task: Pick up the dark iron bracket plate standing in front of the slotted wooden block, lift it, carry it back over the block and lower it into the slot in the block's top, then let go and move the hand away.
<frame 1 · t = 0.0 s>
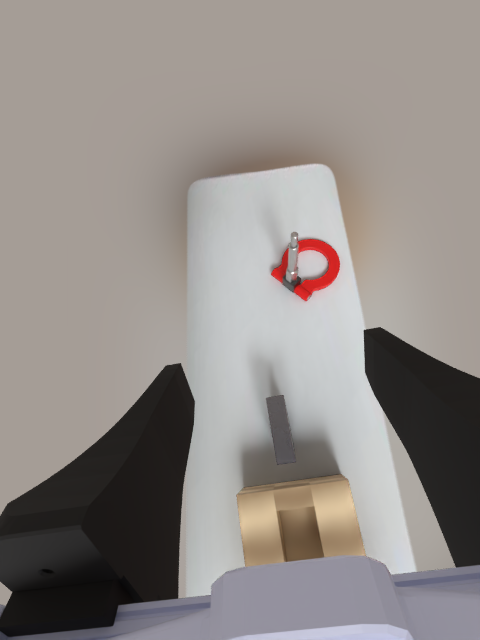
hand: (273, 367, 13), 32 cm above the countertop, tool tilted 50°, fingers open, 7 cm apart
slotted wooden block: (300, 532, 39), on the countertop
bracket: (282, 429, 43), on the countertop
tow hook: (307, 268, 50), on the countertop
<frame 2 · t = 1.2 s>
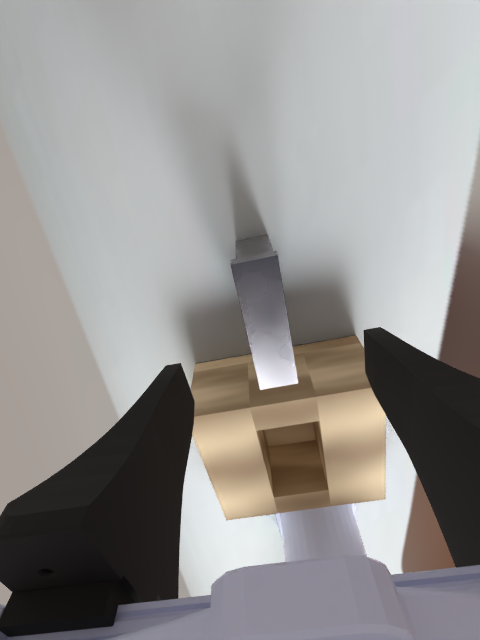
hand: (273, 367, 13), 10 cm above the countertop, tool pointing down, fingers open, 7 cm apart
slotted wooden block: (284, 404, 27), on the countertop
bracket: (259, 275, 22), on the countertop
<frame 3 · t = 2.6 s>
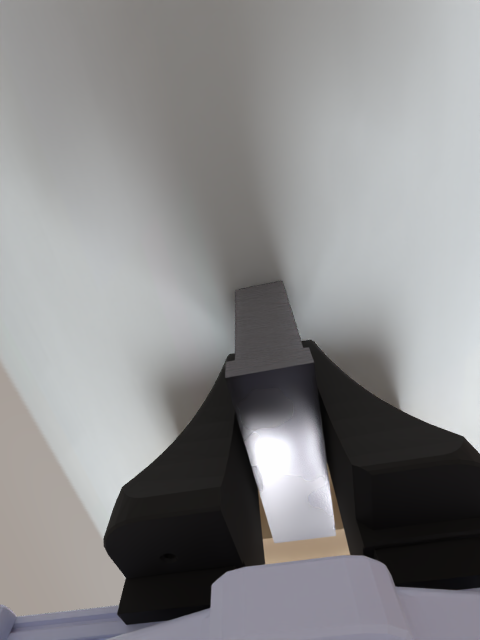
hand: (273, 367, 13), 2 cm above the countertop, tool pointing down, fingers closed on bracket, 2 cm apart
slotted wooden block: (299, 489, 21), on the countertop
bracket: (268, 334, 15), on the countertop, touching gripper
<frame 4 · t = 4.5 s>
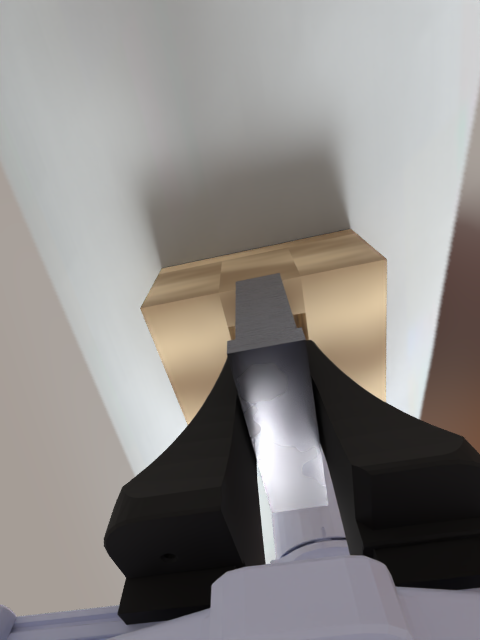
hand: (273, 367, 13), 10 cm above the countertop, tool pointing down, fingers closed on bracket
slotted wooden block: (268, 323, 23), on the countertop
bracket: (266, 324, 16), point 6 cm above the countertop, touching gripper
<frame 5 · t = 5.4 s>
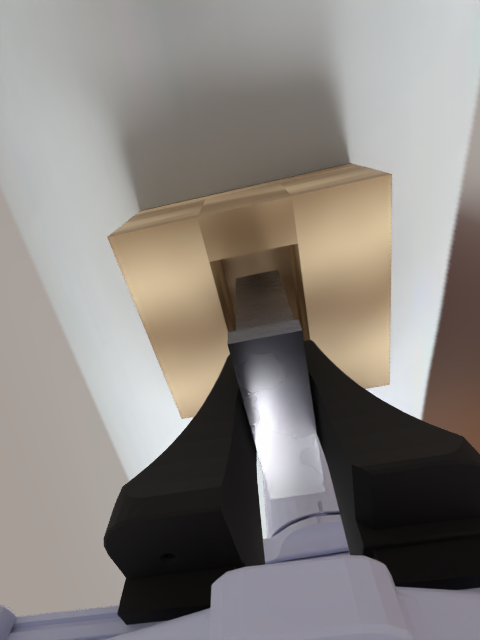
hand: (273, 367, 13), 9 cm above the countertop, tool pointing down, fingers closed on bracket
slotted wooden block: (259, 278, 21), on the countertop
bracket: (266, 319, 17), point 5 cm above the countertop, touching gripper
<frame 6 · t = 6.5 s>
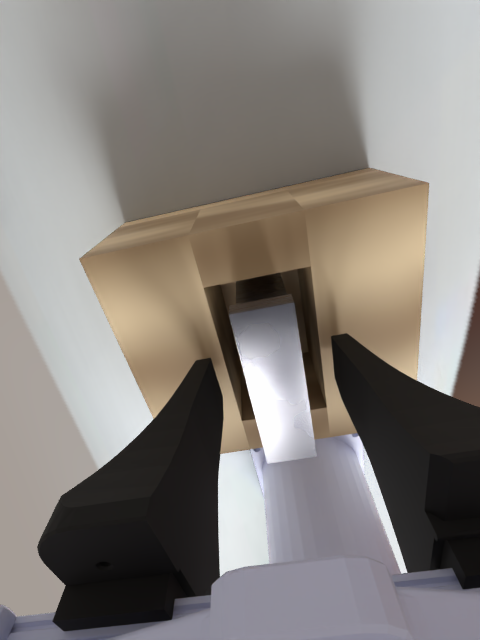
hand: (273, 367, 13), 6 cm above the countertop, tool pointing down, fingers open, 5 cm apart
slotted wooden block: (262, 297, 19), on the countertop
bracket: (264, 305, 18), point 1 cm above the countertop, touching slotted wooden block
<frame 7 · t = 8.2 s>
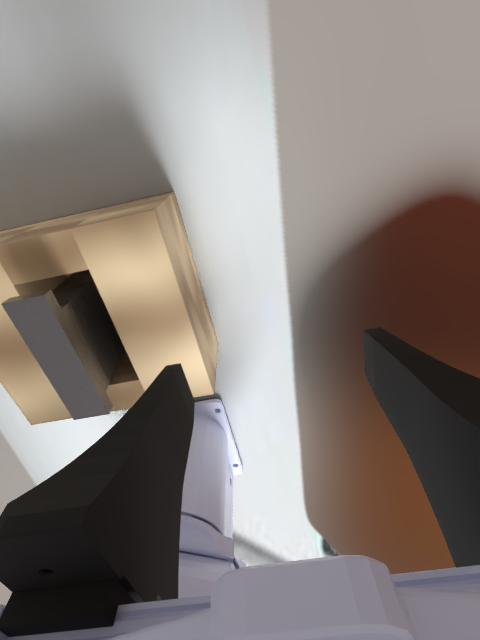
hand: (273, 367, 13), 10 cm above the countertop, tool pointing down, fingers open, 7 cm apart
slotted wooden block: (114, 293, 23), on the countertop
bracket: (109, 300, 22), point 1 cm above the countertop, touching slotted wooden block
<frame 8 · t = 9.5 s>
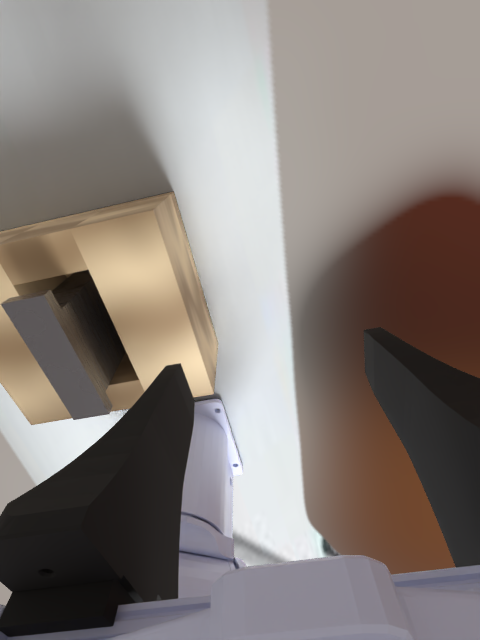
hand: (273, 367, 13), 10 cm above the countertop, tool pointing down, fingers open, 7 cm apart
slotted wooden block: (114, 294, 23), on the countertop
bracket: (109, 300, 22), point 1 cm above the countertop, touching slotted wooden block
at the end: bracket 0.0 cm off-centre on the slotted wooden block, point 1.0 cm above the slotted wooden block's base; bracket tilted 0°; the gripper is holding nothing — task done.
